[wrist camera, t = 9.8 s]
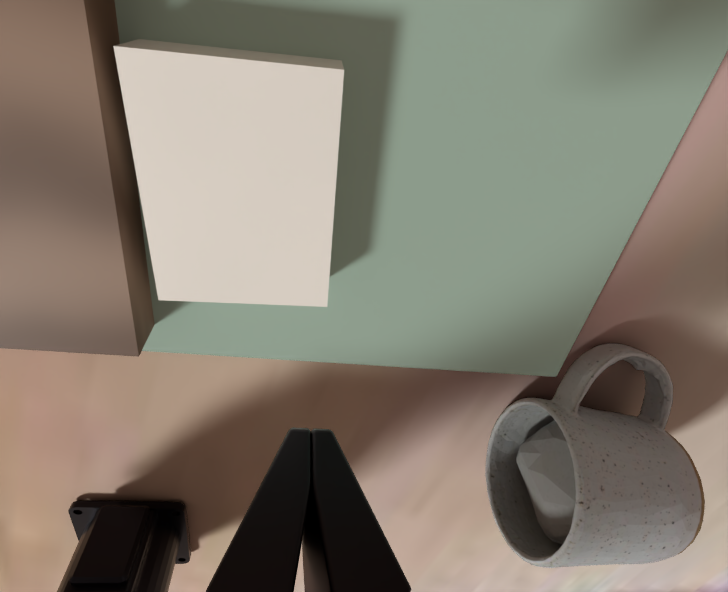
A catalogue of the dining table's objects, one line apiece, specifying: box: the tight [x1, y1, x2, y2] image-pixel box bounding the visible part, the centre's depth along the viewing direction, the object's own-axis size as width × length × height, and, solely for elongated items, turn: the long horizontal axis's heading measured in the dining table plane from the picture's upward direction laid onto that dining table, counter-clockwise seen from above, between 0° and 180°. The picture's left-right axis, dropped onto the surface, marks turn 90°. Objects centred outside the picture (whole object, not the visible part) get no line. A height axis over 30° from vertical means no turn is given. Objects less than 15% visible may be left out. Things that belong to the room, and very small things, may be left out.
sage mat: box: [115, 0, 728, 377], centre depth 17 cm, size 16×20×1 cm
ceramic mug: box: [486, 343, 705, 568], centre depth 23 cm, size 11×8×8 cm
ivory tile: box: [113, 39, 344, 307], centre depth 15 cm, size 8×6×2 cm
